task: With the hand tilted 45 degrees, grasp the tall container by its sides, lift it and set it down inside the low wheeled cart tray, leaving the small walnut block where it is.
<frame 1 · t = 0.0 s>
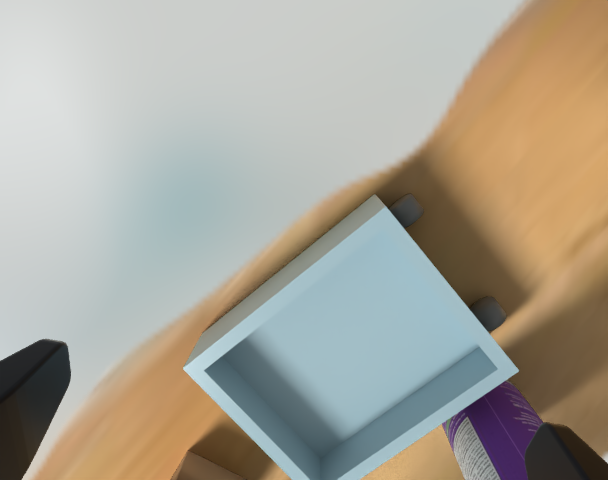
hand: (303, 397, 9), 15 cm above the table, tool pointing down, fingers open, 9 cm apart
cart: (344, 334, 25), on the table
container: (479, 407, 26), on the table
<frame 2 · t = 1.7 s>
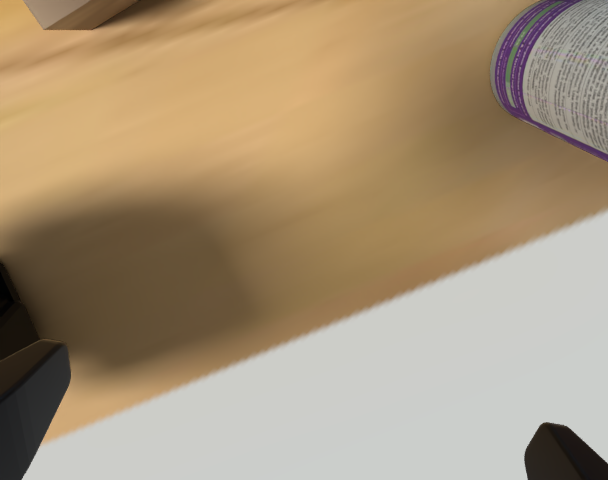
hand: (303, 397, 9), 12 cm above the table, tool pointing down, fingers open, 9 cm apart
container: (545, 61, 18), on the table
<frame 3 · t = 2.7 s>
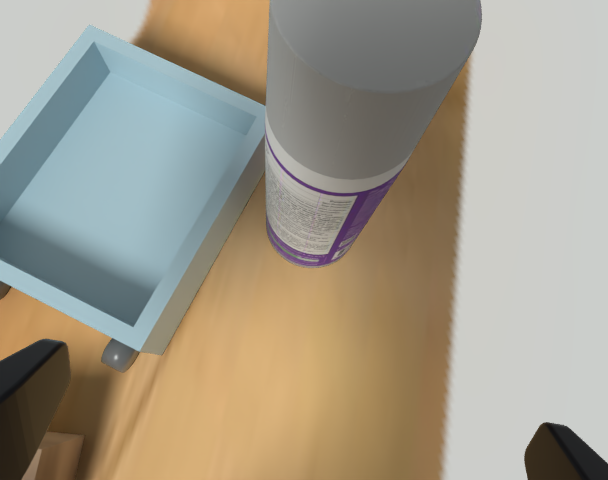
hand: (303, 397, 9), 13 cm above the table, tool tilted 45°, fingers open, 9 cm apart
cart: (136, 202, 24), on the table
walnut block: (27, 479, 20), on the table
container: (310, 225, 24), on the table
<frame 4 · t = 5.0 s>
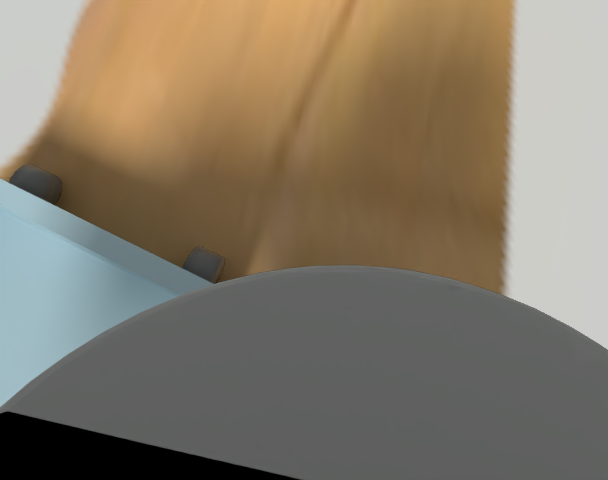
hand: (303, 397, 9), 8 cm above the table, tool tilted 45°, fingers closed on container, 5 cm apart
cart: (19, 400, 16), on the table
container: (281, 427, 16), on the table, touching gripper
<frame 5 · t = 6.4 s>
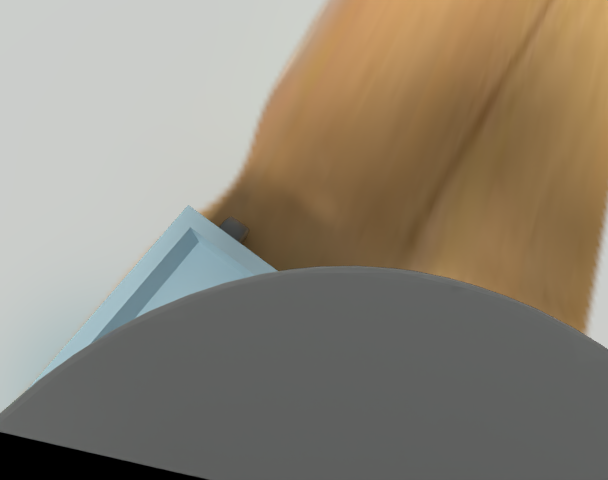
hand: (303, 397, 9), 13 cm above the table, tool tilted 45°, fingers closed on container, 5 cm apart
cart: (202, 394, 21), on the table
container: (283, 426, 16), point 5 cm above the table, touching gripper
when the fingers open (10 cm above the table, at t = 7.8 s): container stays where it is, resting on cart.
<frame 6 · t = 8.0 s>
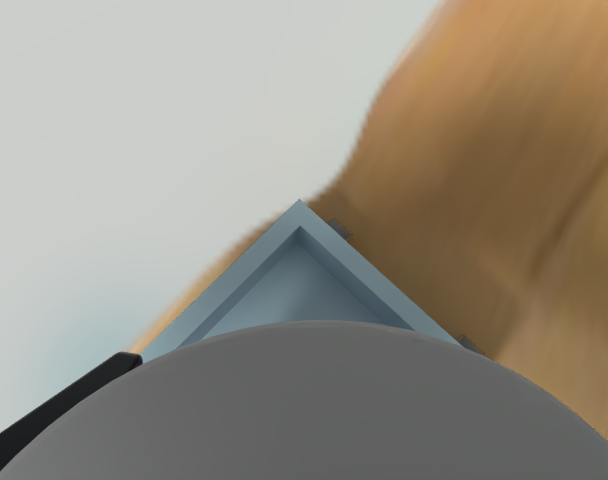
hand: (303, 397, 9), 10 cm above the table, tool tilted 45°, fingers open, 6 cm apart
cart: (281, 421, 18), on the table
container: (281, 431, 17), point 1 cm above the table, touching cart
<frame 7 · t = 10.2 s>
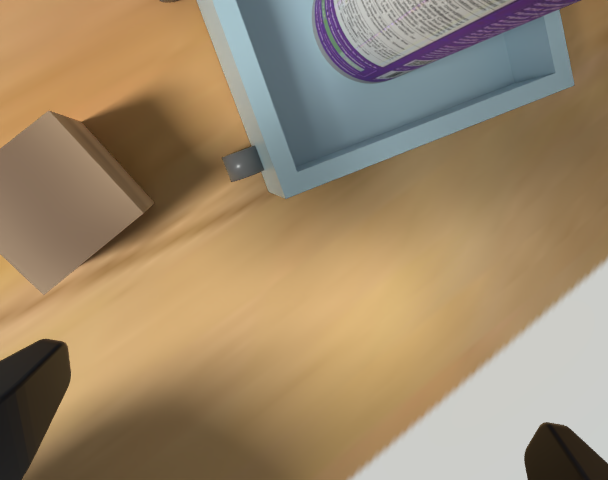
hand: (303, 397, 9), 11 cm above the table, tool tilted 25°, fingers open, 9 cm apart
cart: (359, 27, 19), on the table
walnut block: (78, 196, 18), on the table
container: (368, 22, 18), point 1 cm above the table, touching cart
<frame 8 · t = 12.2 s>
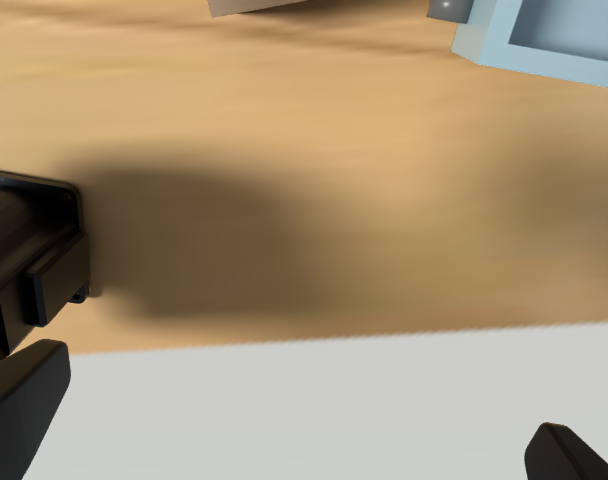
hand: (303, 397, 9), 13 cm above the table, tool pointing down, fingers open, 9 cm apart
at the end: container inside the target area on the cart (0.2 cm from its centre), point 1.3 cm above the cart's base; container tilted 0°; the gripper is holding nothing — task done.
